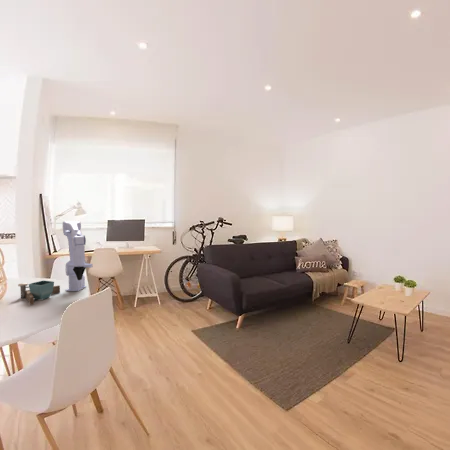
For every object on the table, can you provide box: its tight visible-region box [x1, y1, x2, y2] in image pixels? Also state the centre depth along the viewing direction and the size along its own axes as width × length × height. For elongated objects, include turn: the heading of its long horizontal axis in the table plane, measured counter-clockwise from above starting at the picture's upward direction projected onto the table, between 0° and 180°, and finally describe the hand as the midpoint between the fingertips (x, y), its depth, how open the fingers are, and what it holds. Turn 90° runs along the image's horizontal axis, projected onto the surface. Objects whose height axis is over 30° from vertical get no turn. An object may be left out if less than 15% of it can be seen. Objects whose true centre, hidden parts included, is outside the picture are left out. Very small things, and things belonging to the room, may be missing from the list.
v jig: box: [17, 282, 61, 306], centre depth 153 cm, size 23×16×8 cm
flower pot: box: [28, 280, 55, 301], centre depth 152 cm, size 9×9×9 cm
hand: (79, 279), depth 157 cm, fingers closed
